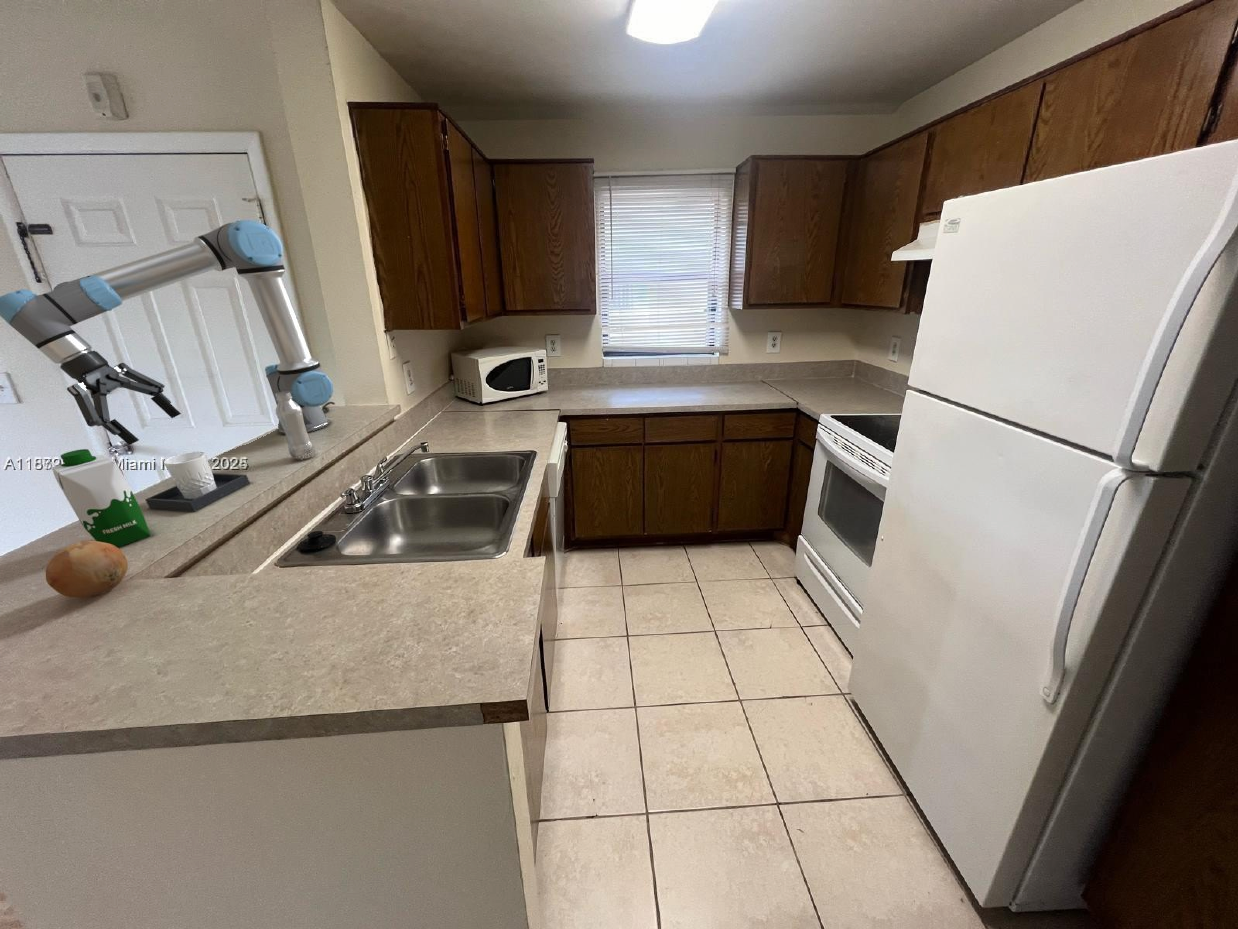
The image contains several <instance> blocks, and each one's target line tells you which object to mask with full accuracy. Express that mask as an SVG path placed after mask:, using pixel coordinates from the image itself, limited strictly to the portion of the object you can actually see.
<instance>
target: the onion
mask: <svg viewBox="0 0 1238 929" xmlns="http://www.w3.org/2000/svg"><path fill="white" fill-rule="evenodd" d="M128 565H129V564H128V559H127V557H126V555H125V553H124V552H123V551H122V550H121V549H120V547H119V548H117V547H116V546H114V545H112V544H109V543H104V542H98V541H96V540H80V541H77V542H75V543H72V544H70V545H68V546H66V547H64V548H63V549H61V550H60V551H58V552H57V553H55V554H54V555H53V556H52V558H50V560H49V561H48V563H47V565H46V568H45V582H46V583H47V585H48V586H49V587H50V588H52V589H53V590H54V591H55V592H57V593H58V594H60V595H61V596H64V597H66V598H70V599H71V598H72V599H74V598H75V599H85V598H92V597H97V596H100V595H102V594H104V593H106V592H109V591H110V590H112V589H114V588H116V587H117V586H118V585H119V584H120V583H121V582H122V581H123V579H124V577H125V576H126V574H127V571H128Z"/></svg>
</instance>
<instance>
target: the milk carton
mask: <svg viewBox="0 0 1238 929" xmlns="http://www.w3.org/2000/svg"><path fill="white" fill-rule="evenodd" d="M60 458H61V460H62V462H63V463H61V464H59V465H55V466H52V467H51V470H52V472H53V476H54V479H55V481H56V483H57V484H58V486H59V488H60V489H61V491H62V492H63V495H64V496H65V498H66V500H67V502H68V503H69V505H70V507H71V508H72V510H73V511H74V513H75V515H76V517H77V518H78V520H79V522H80V524H81V525H82V527H83V528H84V530H85V531H87V533H88V534H89V535H90V536H91V537H92V538H93V539H94V541H98V542H104V543H109V544H112V545H114V546H116V547H117V548H119V549H120V548H122V547H124V546H127V545H130V544H132V543H135V542H137V541H138V542H139V541H140V540H143V539H146V538H148V537H151V536H152V534H151V533H150V529H149V527H148V524H147V522H146V519H145V515H144V513H143V511H142V508H141V507H140V504H139V502H138V501H137V499H136V497H135V495H134V493H133V491H132V489H131V487H130V485H129V483H128V482H127V479H126V478H125V476H124V474H123V471H122V470H121V468H120V467H119V466H118V464H117V463H116V462H115V460H113V459H112V458H111V457H108V456H106V455H105V454H104V453H103V454H98V455H92V453H91V451H90V449H89V448H81V449H75V450H71V451H68V452H67V451H66V452H65V453H63V454H60Z"/></svg>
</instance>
